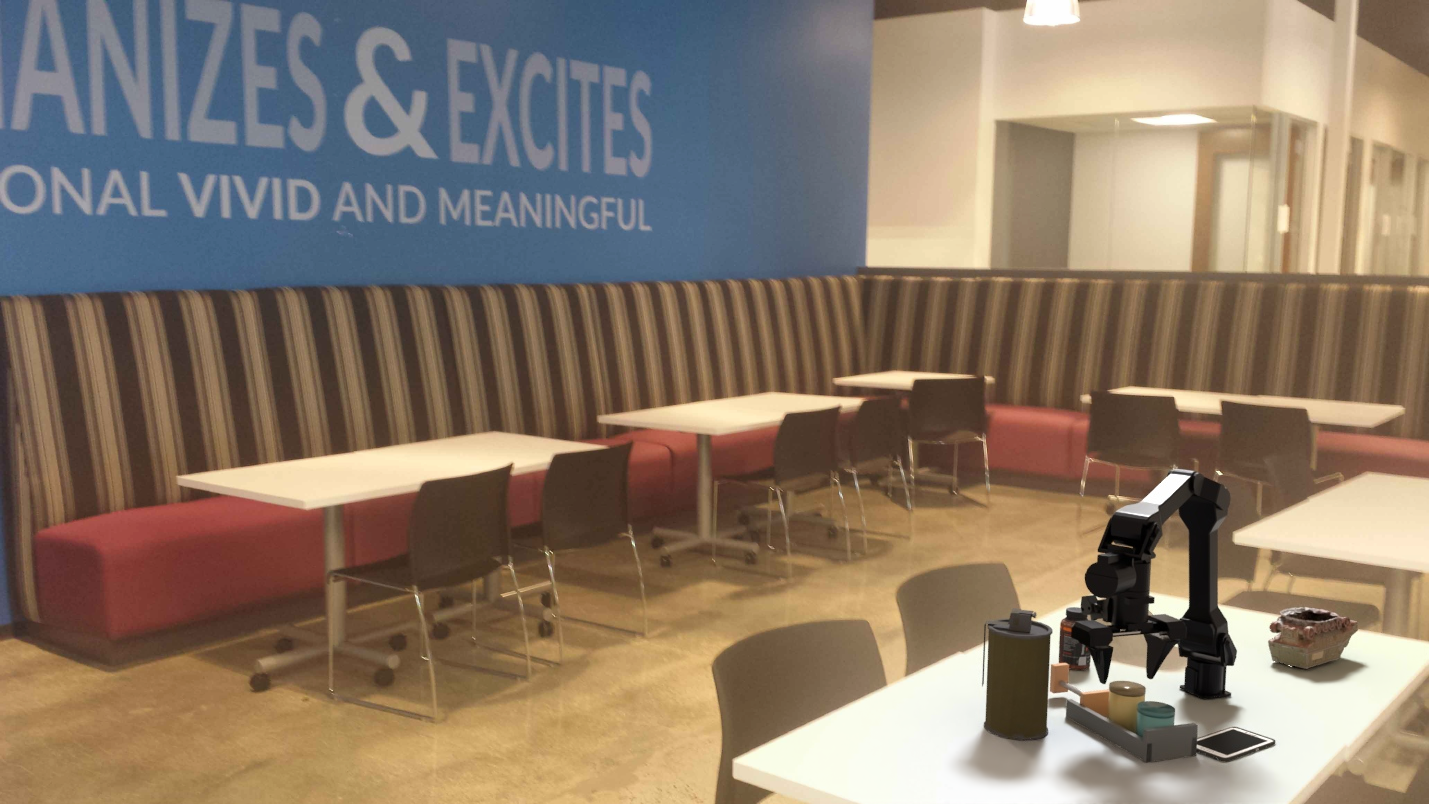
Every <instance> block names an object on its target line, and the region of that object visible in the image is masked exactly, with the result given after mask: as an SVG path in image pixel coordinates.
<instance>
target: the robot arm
mask: <svg viewBox="0 0 1429 804" xmlns="http://www.w3.org/2000/svg"><path fill="white" fill-rule="evenodd" d="M1230 505H1231V493H1230V491H1229V489H1228V488H1227V487H1225V485H1224V483H1221V482H1220V483H1219V482H1217V481H1215V480H1213V479H1210V478H1208V477H1205V476H1204V475H1203V474H1202V473H1200V472H1198V471H1196V470H1189V469H1182V468H1174V469H1170V470H1169V471H1168V472H1167V475H1166V477H1165V478H1164V479H1163V480H1162V481H1161V483H1159V484H1158V485H1157V486H1156V487H1155V488H1154V489H1153V490H1152V491H1150V493H1148V495H1147V496H1145V497H1144V498H1143V499H1141V501H1139V502H1137V503H1132V504H1128V505H1124V506H1122V507H1121V508H1119V509H1117V510H1116V511H1114V513H1113V514H1112V515H1111V517H1109V519H1108V522H1107V525H1106V527H1105V529H1104V532H1103V535H1102V537H1101V540H1100V542H1099V545H1098V547H1097V553H1099V554H1097V557H1096V559H1097V560H1096V561H1095V562H1093V563H1092V564H1090V565H1089V566H1088V568H1087V569H1086V571H1085V573H1084V583H1085V586H1086V588H1087V590H1088V591H1089V593H1091V594H1092V595H1090V594H1089V595H1083V596H1081V600H1080V608H1081V612H1082V614H1083V615H1088V616H1090V619H1088V620H1086V621H1076V622H1075V623H1074V624H1073V625H1072V628H1071V638H1073V639H1076V640H1078V642H1079V643H1081V644H1083V645H1085V646H1086V647H1087V649H1088V650H1089V652H1090V654H1091V658H1092V659H1091V660H1092V662H1093V665H1094V667H1095V671H1096V674H1097V677H1098V681H1099V683H1100V684H1102V685H1106V684H1107V682H1108V678H1109V674H1110V669H1111V668H1110V667H1111V663H1112V659H1113V658H1112V657H1113V652H1114V646H1112V645H1110V644H1111V643H1112V642H1113V641H1114V639H1113V638H1115V637H1116V638H1117V637H1128V636H1139V635H1143V637H1144V640H1145V642H1146V662H1145V663H1146V664H1145V665H1146V666H1145V668H1146V669H1145V672H1146V678H1147V679H1148V680H1153V679H1154V678H1155V676H1156V675H1157V672H1158V671H1159V669H1160V668H1161V666H1162V664H1163V663H1164V661H1165V660H1166V658H1167V656H1168V655H1169V654H1170V653H1171V652H1172V650H1173V649H1174V647H1175V646H1176V645H1177V647H1178V654H1179V655H1178V656H1179V658H1180V657H1181V658H1186V666H1185V668H1184V669H1185V670H1184V682H1183V683H1184V684H1180V685H1179V689H1181V690H1183V691H1185V692H1187V693H1189V694H1192V695H1194V696H1196V697H1198V698H1200V699H1202V700H1203V699H1206V700H1207V699H1215V698H1222V697H1224V698H1225V697H1231V696H1232V692H1230V691H1228V690H1226V683H1227V682H1226V680H1227V667H1233V666H1235V662H1236V660H1237V653H1238V649H1237V647H1236V646H1235V644H1234V641H1233V639H1232V638H1231V635H1230V634H1229V626H1228V625H1229V624H1228V620H1227V618H1226V616H1225V615H1224V613H1223V612H1222V610H1221V609H1220V608H1219V602H1218V600H1219V598H1218V597H1219V590H1218V589H1219V588H1218V587H1219V584H1218V582H1219V581H1218V579H1219V573H1218V572H1219V571H1218V569H1219V567H1218V566H1219V563H1218V561H1219V559H1218V558H1219V557H1218V556H1219V555H1218V551H1219V548H1218V540H1219V539H1218V538H1219V536H1218V535H1219V534H1218V531H1219V528H1220V526H1221V525H1222V524H1223V523H1224V521H1225V519H1226V518H1227V517H1228V511H1229V507H1230ZM1176 511H1178V516H1179V519H1180V520H1181V522H1182V523H1183V524H1184V526H1185V527H1186V528H1187V531H1188V608H1187V610H1186V611H1185V612H1184V614H1182V617H1180V618H1176V617H1174V616H1171V615H1168V614H1167V613H1162V614H1160V613H1159V614H1150V615H1149V609H1150V608H1149V607H1150V605H1151V604H1155V597H1154V596H1152V595H1150V589H1151V587H1150V586H1151V573H1152V572H1151V571H1152V570H1151V569H1152V560H1153V559H1155V558H1156V556H1157V555H1156V553H1155V549H1156V547H1157V545H1158V543H1159V542H1160V540H1161V538H1162V537H1163V536H1164V534H1163V533H1164V532H1163V525H1164V524H1165V523H1166V521H1168V519H1170V518H1171V517H1172V516H1173V515H1174V513H1176ZM1113 543H1114V544H1113ZM1098 598H1099V599H1098ZM1100 619H1102V621H1103V622H1105V623H1110V625H1106V624H1104V623H1102V622H1099V621H1098V620H1100Z"/></svg>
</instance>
